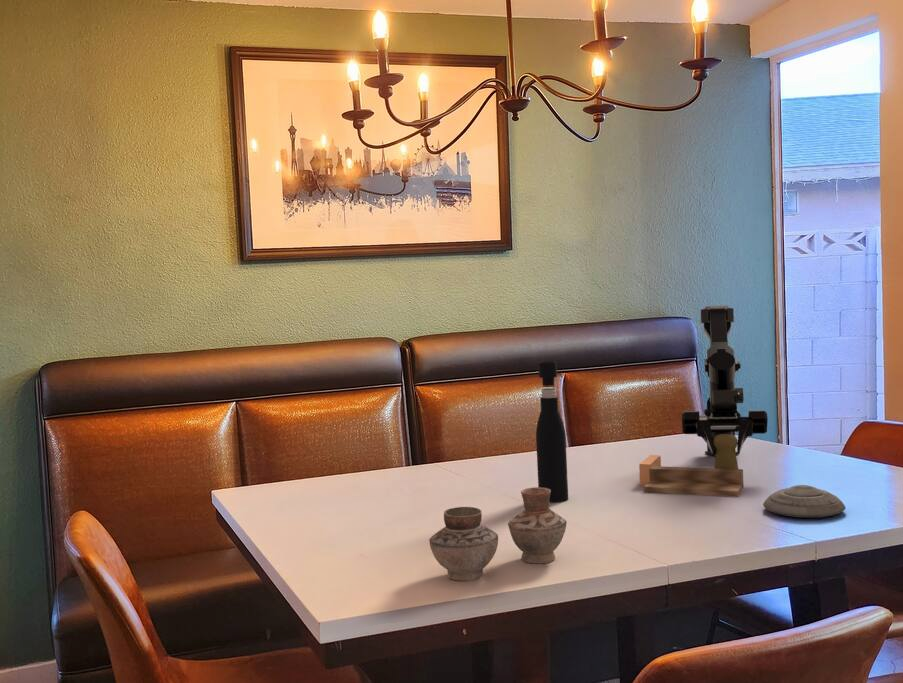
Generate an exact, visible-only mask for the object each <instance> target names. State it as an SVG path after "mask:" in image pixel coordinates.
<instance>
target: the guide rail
mask: <svg viewBox="0 0 903 683" xmlns="http://www.w3.org/2000/svg"><path fill="white" fill-rule="evenodd" d="M661 461H662V457H661V455H660V454H659V455H658V454H656V455H655V454H649V455H648V456H647V457H645V459H644V460H642V461H641V462H639V464H638V465H639V467H638V468H639V470H638V471H639V486H640V487H643V493H651V494H652V493H654V494H655V493H656V494H676V495H695V496H716V497H720V496H721V497H738V498H739V496H740V494H741V492H742V490H743V489H744V485H745V484H744V469H741V468H738V469H719V468H714V467H691V466H690V467H689V466H688V467H687V466H685V467H684V466H662V462H661Z"/></svg>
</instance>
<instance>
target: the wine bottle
mask: <svg viewBox="0 0 903 683" xmlns="http://www.w3.org/2000/svg"><path fill="white" fill-rule="evenodd" d="M557 365H558V364H557V362H556V361H554V360H552V361H550V360H547V361H546V360H545V361H539V362H538V377H539V378H541V380H542V384H541V385H542V386H541V387H543V388H542V389H541V397H540V400H539V401H540V413H539V415H538V419H537V424H536V431H535V440H536V441H535V442H536V443H535V444H536V446H535V447H536V460H537V461H536V462H537V464H536V465H537V466H536V467H537V483H538V487H542V488H548V489H550V490H551V493H550V498H549V504H550V503H551V504H552V503H562V502H566V501H568V500H569V485H568V484H569V483H568V482H569V480H568V461H567V438H566V430H565V429H566V428H565V425H564V422H563V419H562V416H561V413H560V411H559V398H558V396H557V395H558V394H557V390H556V388H554V387H555V378H557V377H558V369H557V368H558V367H557Z"/></svg>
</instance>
